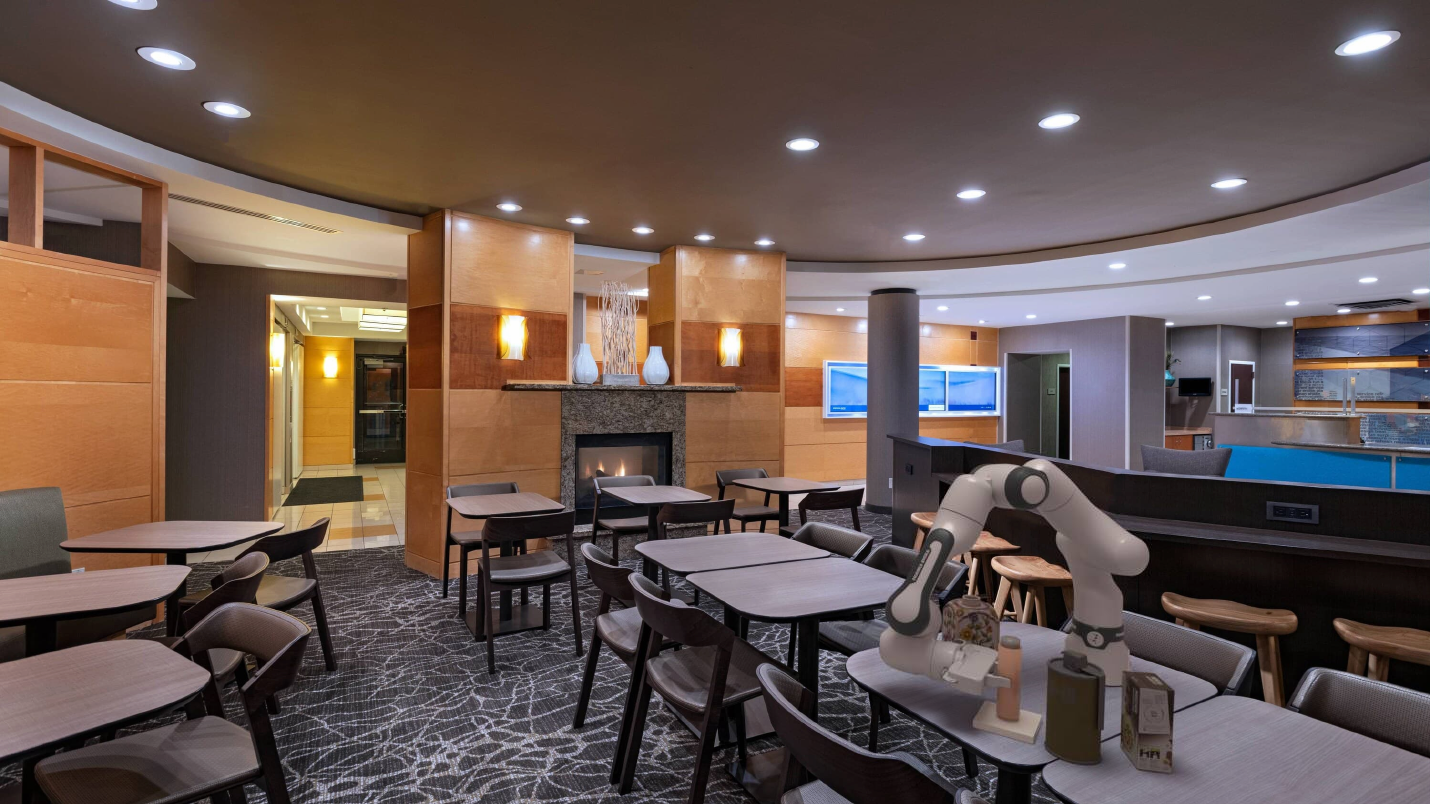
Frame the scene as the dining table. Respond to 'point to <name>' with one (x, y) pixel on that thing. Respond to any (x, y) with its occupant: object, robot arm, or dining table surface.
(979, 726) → the board
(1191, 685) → the dining table surface
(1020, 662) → the shaker
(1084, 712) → the canister
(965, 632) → the decorative jar
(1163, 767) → the coffee box
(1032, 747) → the dining table surface
